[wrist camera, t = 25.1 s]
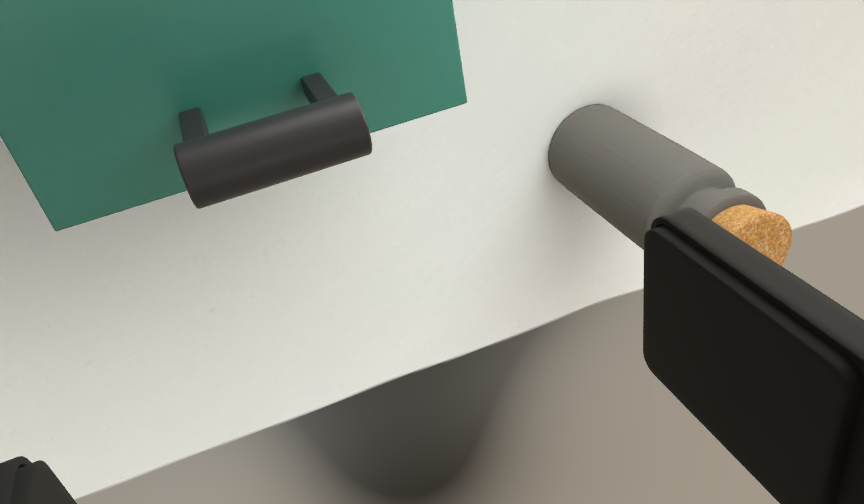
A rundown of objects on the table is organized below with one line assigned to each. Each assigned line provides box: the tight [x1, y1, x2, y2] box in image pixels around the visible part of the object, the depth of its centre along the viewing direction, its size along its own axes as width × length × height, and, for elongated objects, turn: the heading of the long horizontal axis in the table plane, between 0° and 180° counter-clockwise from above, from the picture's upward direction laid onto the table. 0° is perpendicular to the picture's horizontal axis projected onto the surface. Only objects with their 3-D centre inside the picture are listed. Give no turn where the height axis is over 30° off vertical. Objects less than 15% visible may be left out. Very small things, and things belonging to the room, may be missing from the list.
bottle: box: [549, 104, 792, 266], centre depth 39 cm, size 6×6×15 cm
